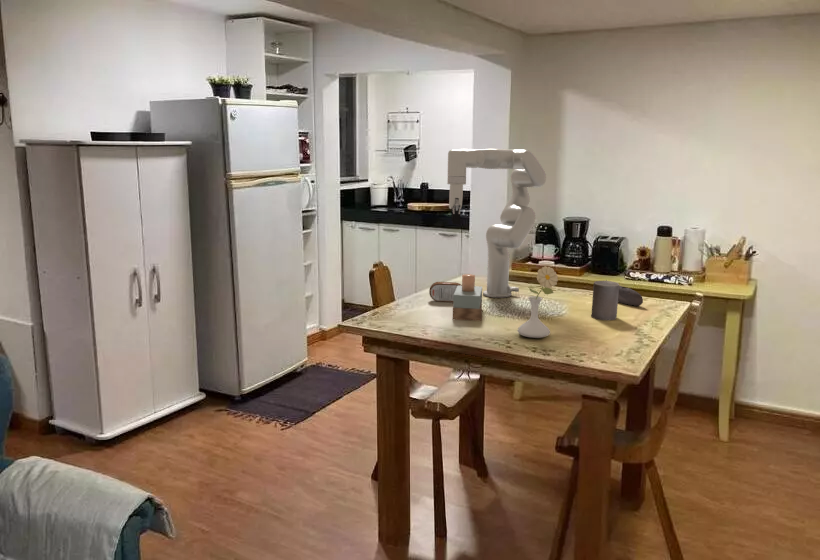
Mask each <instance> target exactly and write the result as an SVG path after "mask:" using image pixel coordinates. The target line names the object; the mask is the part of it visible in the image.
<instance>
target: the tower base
mask: <svg viewBox="0 0 820 560" xmlns="http://www.w3.org/2000/svg"><path fill="white" fill-rule="evenodd" d="M482 306H483V301H482V300H481V305H480V309H471V308H453V307H452V320H453V319H455V321H458V320H460V321H482V316H483V315H482V314H483V313H482V312H483V311H482V310H483V307H482Z"/></svg>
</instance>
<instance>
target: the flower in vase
mask: <svg viewBox="0 0 820 560" xmlns="http://www.w3.org/2000/svg"><path fill="white" fill-rule="evenodd" d="M536 277H537V278H536V280H537V282H538V284H539V286H541V289H540V291H539V292H538V291H536V290H533V289H532V288H530V287H529V291H530V292H531V293H534V294H536V295H535V296H534V295H531V296H528V297H527V299H528V300H529V303H530V306H531V307H530V308H531V314H530V317H529V319H528V320H527V321H525V322H523V323H522V324H521V325H519V327H518V328H517V330H516V331H517V332H518V334H519V335H520V336H523V337H527V338H531V339H534V338H535V339H539V338H545V337H547V336H549V335H550V334H551V329H550V328H549V327H548V326H547V325H545V324H544V322H542V320H541V319H539V316H538V315H539V306H540V303H541V301H542V300H543V297H542V296H539V295H540V294H541V292H543V293H544V294H545V295H551V294H554V291H553V290H552V288H553V287H555V286H557V284H558V283H557V282H559V279H558V278H559V276H558V274H557V272H556V271H555V270H554V268H553V267H550V266H548V267H547V266H546V265H545V266H542V267H541V268H540V269H538V270H537V274H536Z"/></svg>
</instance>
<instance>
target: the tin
mask: <svg viewBox="0 0 820 560" xmlns="http://www.w3.org/2000/svg"><path fill="white" fill-rule="evenodd" d="M458 285H459V286H462V283H459V282H456V281H455V282H454V281H453V282H452V281H435V282H433V283H432V284H431V285H430V286H429V290H428V291H429V293H428V294H429V296H430V298H431V299H432V300H433V301H435V302H440V303H443V302H444V303H453V300H454V293H455V291H456V288H457V286H458Z"/></svg>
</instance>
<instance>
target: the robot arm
mask: <svg viewBox="0 0 820 560" xmlns="http://www.w3.org/2000/svg"><path fill="white" fill-rule="evenodd" d="M467 168H468V169H476V168H479V169H485V170H486V169H487V170H512V171H511V175H510V182H511V187H512V188H511V189H512V190H511V191H512V193H511V196H510V198H509V200H508V201H507V203H506V205H505V206H504V208H503V209H502V211H501V214H500V216H499V217H500V218H499V219H500V222H501V223H502V224H501V223H499V224H498V223H497V224H492V225H490V226H489V227H488V228H487V230H486V234H485V239H486V246H487V267H486V270H487V273H486V290H483V291H482V296H485V297H488V298H494V299H495V298H498V299H499V298H500V299H503V298H508V297H509V298H510V297H512V293H513V292H515V293H517V292H518V293H519V291H520V288H519V287H517V286H510V284H509V275H510V274H509V273H510V252H509V250H508V249H518V248H520V247H521V246H522V245H523V244H524V242H525V241H526V239H527V237H528V236H529V234H530V232H531V230H532V228H533V227H534V225H535V222H536V213H535V211H534V209H533V208H532V207H530V206H529V205H530V202H531V201H530V200H531V196H530V192H529V191H528V188H535V189H538V188H541V187H543V186H544V185H545V183H546V181H547V174H546V171H545V169H544V168H543V166H542V165H541V163H540V162H539V160H538V158H537V157H536V156H535V154H534V153H532V151H531V150H528V149H514V148H513V149H510V148H505V149H504V148H485V149H484V148H483V149H476V148H475V149H474V148H469V149H468V148H459V149H451V150H449V151H448V153H447V183H446V184H447V185H449V199H448V201H449V202H448V208H449V209H450V210H452V211H451V223H452V225H461V209H462V207H463V196H464V195H463V193H464V192H463V191H464V186H465V185H467Z"/></svg>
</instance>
